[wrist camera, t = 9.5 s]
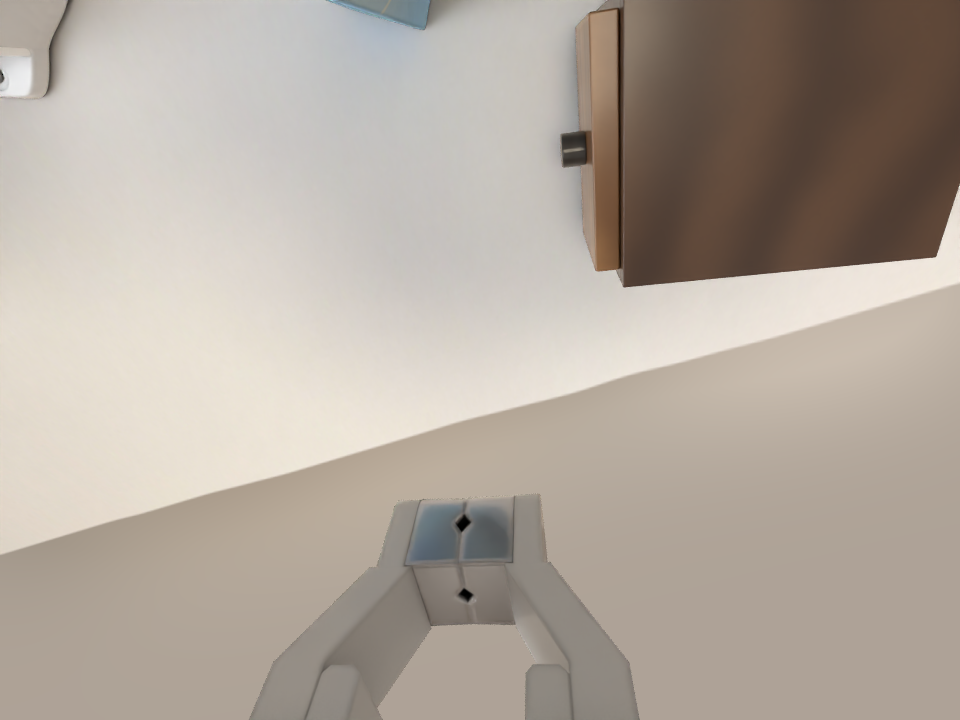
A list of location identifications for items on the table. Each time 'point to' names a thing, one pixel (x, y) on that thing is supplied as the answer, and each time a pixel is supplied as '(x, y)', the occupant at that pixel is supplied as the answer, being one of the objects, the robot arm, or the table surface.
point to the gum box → (392, 10)
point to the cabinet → (784, 134)
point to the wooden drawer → (598, 135)
